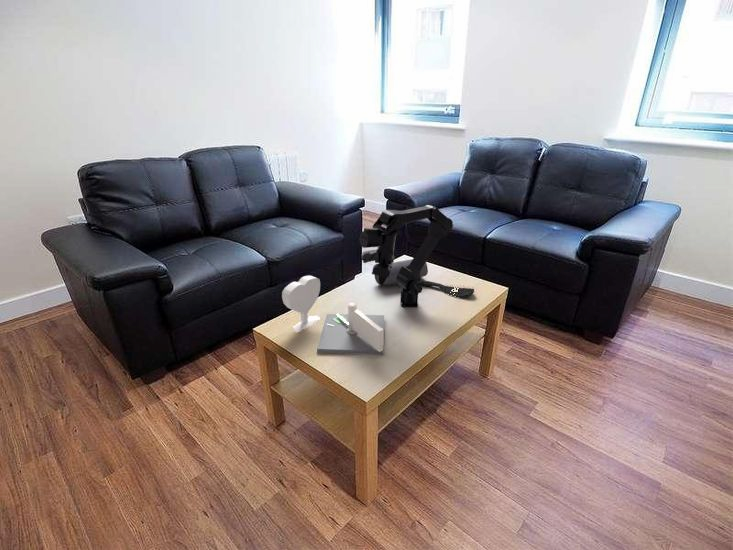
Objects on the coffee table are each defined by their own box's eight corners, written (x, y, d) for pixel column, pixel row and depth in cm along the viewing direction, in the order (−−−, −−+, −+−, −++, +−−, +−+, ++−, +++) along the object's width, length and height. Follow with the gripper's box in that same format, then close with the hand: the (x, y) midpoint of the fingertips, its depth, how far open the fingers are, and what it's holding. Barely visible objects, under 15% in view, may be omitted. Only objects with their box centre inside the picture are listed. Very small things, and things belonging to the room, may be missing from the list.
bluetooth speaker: (382, 291, 167) (382, 270, 162) (373, 282, 175) (373, 262, 170) (427, 282, 175) (429, 261, 170) (417, 273, 182) (418, 254, 178)
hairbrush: (421, 275, 176) (476, 284, 164) (421, 282, 177) (476, 292, 165) (414, 282, 169) (471, 293, 157) (414, 290, 171) (470, 301, 159)
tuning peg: (333, 316, 144) (332, 293, 140) (340, 314, 146) (339, 291, 142) (377, 355, 124) (377, 329, 119) (384, 352, 125) (385, 326, 121)
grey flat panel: (384, 318, 147) (384, 314, 146) (383, 354, 128) (383, 349, 127) (327, 317, 148) (326, 312, 148) (317, 352, 129) (316, 347, 128)
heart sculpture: (314, 312, 151) (311, 271, 143) (323, 317, 149) (321, 275, 141) (284, 331, 140) (279, 287, 132) (294, 335, 137) (289, 291, 130)
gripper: (368, 235, 149) (364, 273, 155) (360, 249, 132) (355, 291, 138) (396, 240, 148) (391, 277, 154) (392, 254, 131) (386, 296, 137)
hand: (380, 285), depth 146 cm, fingers closed
